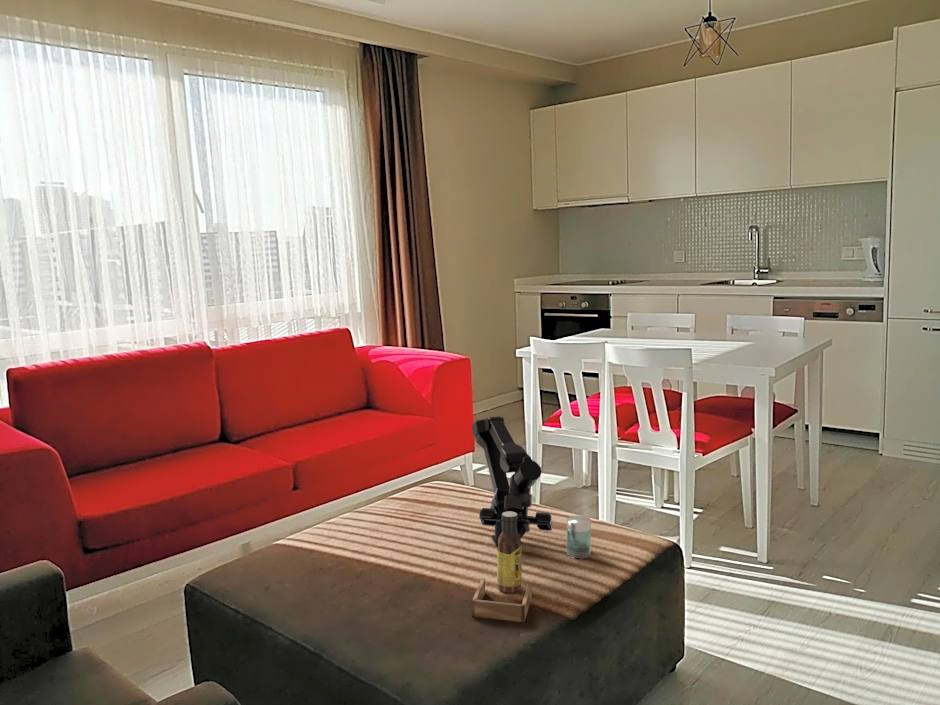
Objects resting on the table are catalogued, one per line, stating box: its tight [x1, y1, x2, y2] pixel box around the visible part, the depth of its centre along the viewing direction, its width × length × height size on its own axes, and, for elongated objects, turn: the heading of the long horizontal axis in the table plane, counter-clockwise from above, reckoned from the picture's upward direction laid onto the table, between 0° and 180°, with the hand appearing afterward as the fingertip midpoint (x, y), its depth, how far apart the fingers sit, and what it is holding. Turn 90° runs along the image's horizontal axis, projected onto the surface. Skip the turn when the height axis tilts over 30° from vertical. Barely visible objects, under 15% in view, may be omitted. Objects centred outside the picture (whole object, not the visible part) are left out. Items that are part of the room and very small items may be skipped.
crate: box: [471, 577, 533, 623], centre depth 191 cm, size 12×13×4 cm
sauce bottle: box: [496, 511, 523, 594], centre depth 199 cm, size 7×6×20 cm
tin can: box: [566, 515, 592, 559], centre depth 220 cm, size 7×7×10 cm
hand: (512, 550), depth 203 cm, fingers closed
